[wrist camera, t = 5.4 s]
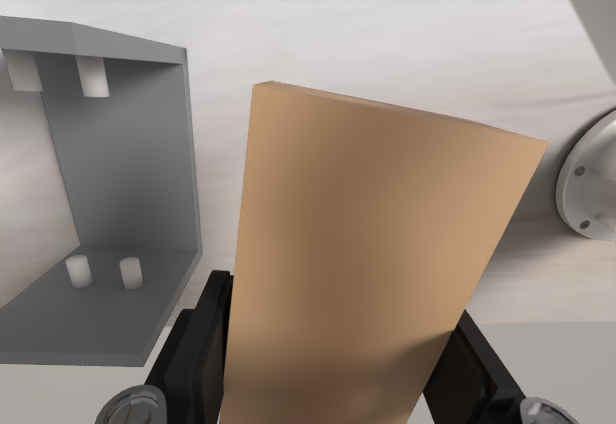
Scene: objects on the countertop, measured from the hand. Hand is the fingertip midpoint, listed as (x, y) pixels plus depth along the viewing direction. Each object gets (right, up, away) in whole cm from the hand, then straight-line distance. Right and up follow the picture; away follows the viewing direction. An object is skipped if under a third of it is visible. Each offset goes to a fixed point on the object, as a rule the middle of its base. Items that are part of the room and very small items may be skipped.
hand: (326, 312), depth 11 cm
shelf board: (0, +1, +1) cm, 1 cm away
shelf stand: (-15, +8, +14) cm, 22 cm away
